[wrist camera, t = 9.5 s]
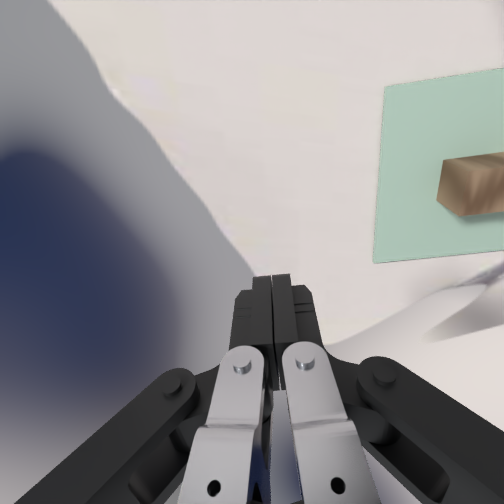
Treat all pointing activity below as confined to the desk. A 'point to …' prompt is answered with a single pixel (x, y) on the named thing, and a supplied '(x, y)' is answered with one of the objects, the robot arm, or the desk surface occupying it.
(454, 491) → the robot arm
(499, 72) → the sage mat
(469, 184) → the walnut block
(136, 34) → the desk surface
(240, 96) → the desk surface
